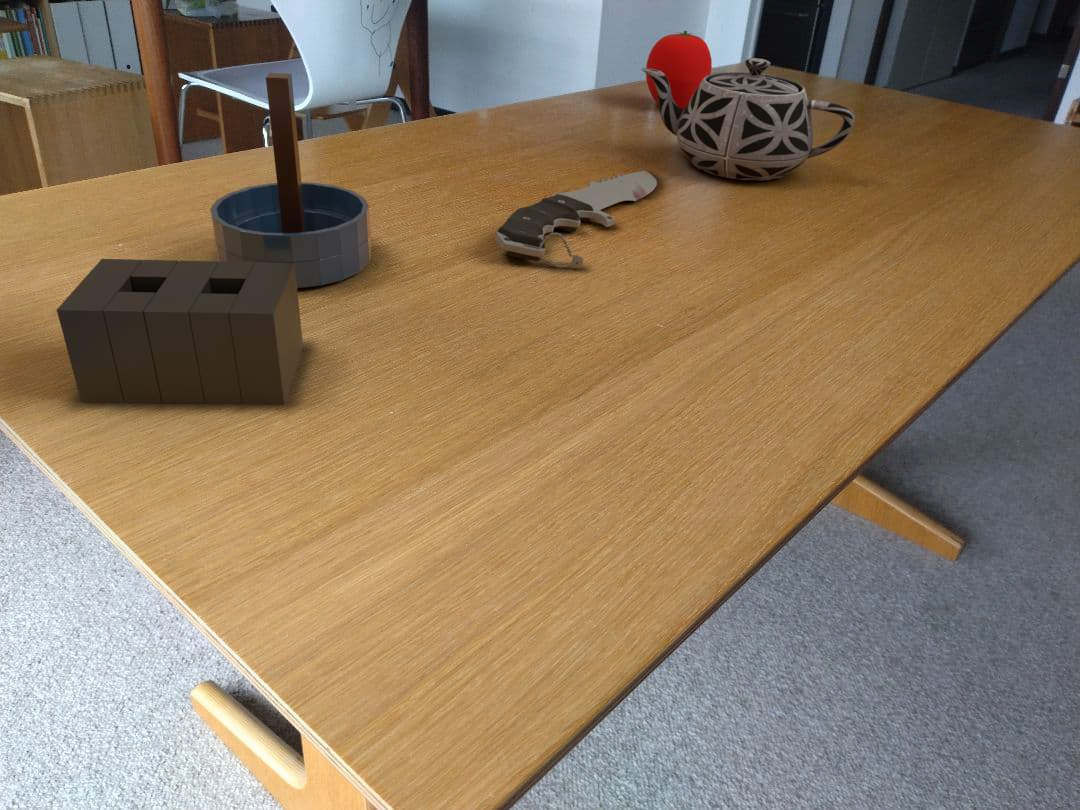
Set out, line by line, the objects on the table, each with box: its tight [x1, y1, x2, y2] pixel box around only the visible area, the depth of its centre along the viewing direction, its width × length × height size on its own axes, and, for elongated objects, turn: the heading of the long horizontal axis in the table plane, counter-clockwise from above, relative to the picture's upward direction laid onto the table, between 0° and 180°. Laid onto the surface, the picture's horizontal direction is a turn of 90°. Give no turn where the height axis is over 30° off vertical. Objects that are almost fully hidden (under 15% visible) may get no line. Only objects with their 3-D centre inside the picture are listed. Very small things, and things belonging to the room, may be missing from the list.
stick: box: [265, 72, 306, 233], centre depth 86 cm, size 2×2×18 cm
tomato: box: [645, 30, 713, 110], centre depth 152 cm, size 11×11×13 cm
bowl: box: [209, 181, 372, 289], centre depth 89 cm, size 15×15×6 cm
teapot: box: [640, 57, 856, 182], centre depth 124 cm, size 19×31×15 cm, turn 68°
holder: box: [56, 258, 304, 406], centre depth 69 cm, size 15×9×8 cm, turn 94°
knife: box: [494, 169, 658, 270], centre depth 106 cm, size 36×10×4 cm, turn 159°
